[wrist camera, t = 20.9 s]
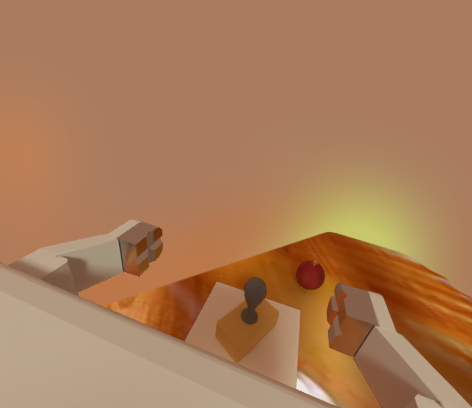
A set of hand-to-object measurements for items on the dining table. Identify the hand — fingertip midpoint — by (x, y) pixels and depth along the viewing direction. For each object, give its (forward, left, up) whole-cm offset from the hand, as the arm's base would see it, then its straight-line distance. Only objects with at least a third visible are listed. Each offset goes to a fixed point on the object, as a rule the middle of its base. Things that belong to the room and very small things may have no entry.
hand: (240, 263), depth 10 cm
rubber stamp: (0, -17, -30) cm, 34 cm away
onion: (-10, -32, -30) cm, 45 cm away
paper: (0, -17, -30) cm, 35 cm away
